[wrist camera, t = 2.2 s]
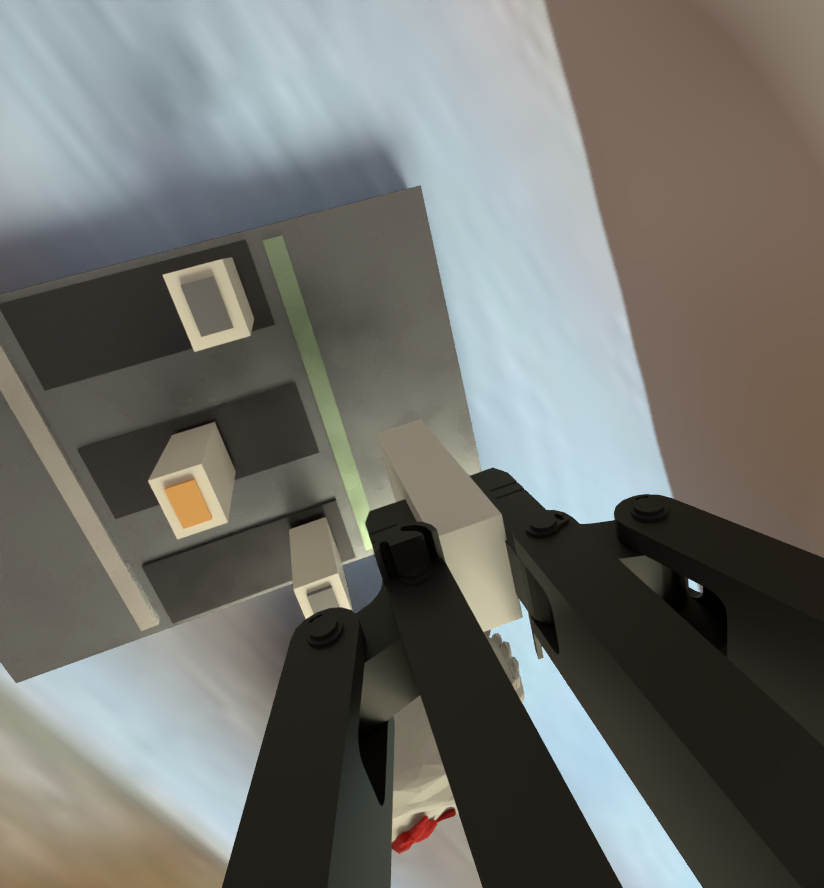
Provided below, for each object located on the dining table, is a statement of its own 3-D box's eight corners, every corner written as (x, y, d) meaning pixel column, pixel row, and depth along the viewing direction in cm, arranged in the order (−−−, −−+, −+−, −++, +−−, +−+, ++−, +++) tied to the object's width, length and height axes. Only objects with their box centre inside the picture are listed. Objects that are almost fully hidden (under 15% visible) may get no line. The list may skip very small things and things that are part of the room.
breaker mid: (194, 484, 23) (176, 542, 18) (171, 435, 22) (146, 483, 17) (235, 471, 23) (227, 525, 19) (214, 421, 22) (200, 466, 18)
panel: (33, 653, 26) (14, 686, 24) (-185, 344, 20) (-235, 354, 18) (476, 496, 30) (491, 513, 28) (408, 190, 23) (421, 184, 21)
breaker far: (305, 570, 26) (313, 638, 21) (288, 529, 25) (293, 592, 20) (340, 557, 26) (355, 622, 21) (325, 516, 25) (338, 575, 20)
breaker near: (209, 330, 21) (193, 353, 16) (185, 269, 20) (161, 274, 15) (254, 318, 21) (250, 336, 17) (232, 257, 20) (221, 259, 16)
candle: (493, 594, 32) (428, 756, 38) (306, 586, 28) (267, 766, 34) (565, 731, 24) (469, 908, 30) (318, 745, 20) (265, 943, 26)
